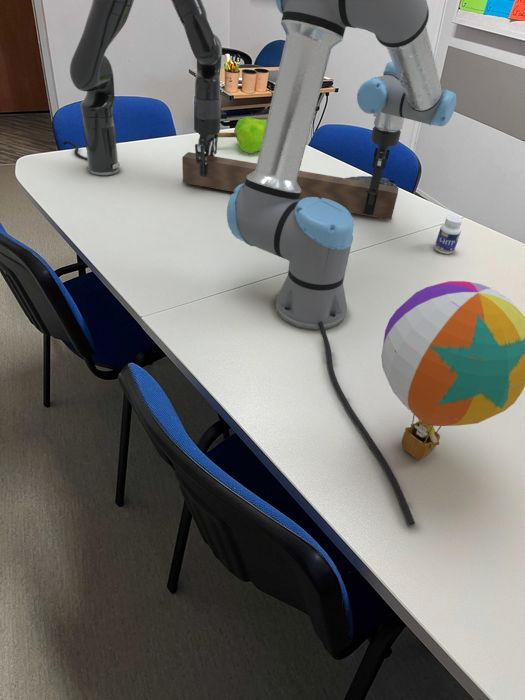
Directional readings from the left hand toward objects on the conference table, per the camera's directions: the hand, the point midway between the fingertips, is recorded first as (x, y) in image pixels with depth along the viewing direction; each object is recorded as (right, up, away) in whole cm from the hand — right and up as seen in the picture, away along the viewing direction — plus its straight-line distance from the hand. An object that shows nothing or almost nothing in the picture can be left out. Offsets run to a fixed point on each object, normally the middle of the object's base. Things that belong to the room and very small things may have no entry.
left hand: (206, 172), depth 159 cm
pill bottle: (+66, -27, -19) cm, 74 cm away
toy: (+42, -71, -76) cm, 112 cm away
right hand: (+49, -13, -6) cm, 51 cm away
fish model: (+50, -3, +10) cm, 51 cm away
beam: (+24, -8, -2) cm, 26 cm away
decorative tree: (+10, +20, +34) cm, 41 cm away
